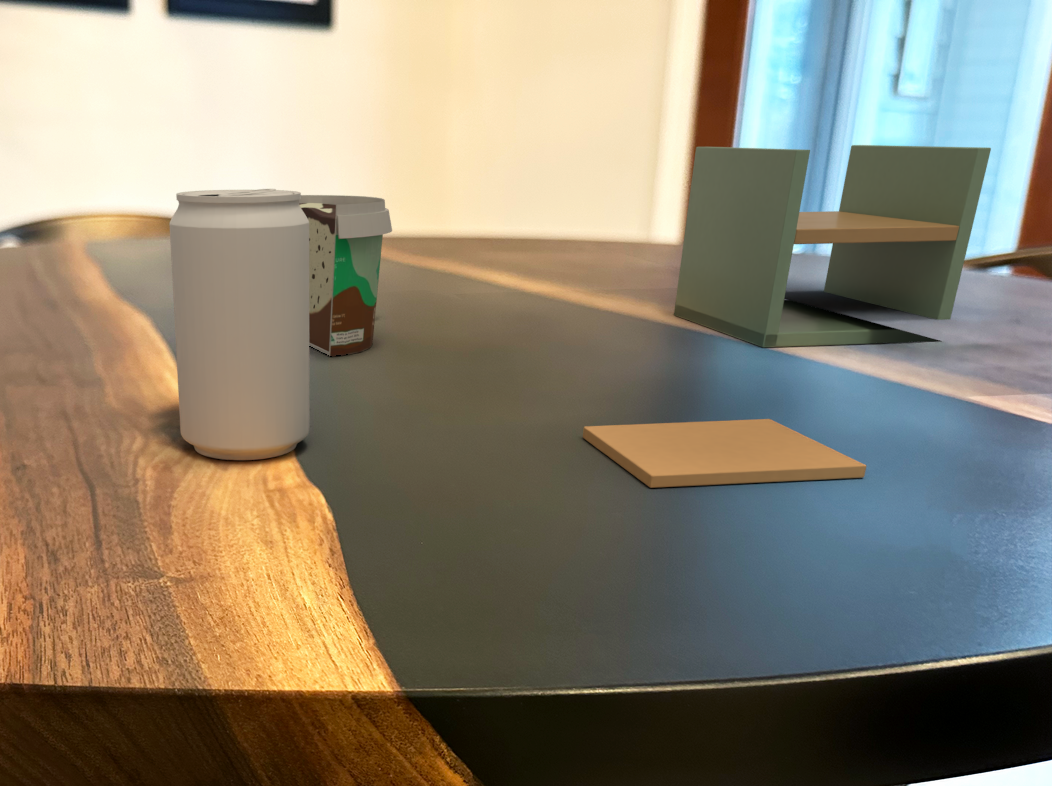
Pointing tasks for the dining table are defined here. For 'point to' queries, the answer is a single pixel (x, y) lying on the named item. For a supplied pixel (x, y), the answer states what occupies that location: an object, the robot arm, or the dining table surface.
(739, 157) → the rack
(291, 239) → the beverage can
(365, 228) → the food container
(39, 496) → the dining table surface
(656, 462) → the mat
